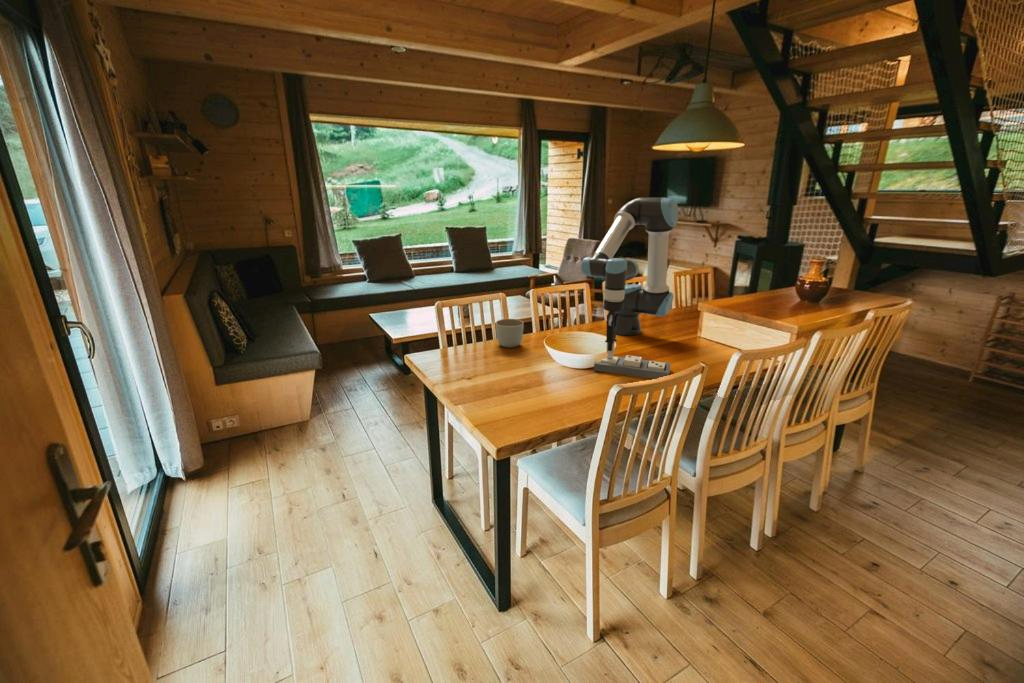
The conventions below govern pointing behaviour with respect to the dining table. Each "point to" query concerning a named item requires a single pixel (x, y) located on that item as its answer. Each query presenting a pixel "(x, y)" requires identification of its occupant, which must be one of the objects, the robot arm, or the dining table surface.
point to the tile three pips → (656, 365)
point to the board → (632, 369)
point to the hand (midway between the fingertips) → (609, 357)
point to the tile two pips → (632, 361)
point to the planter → (509, 332)
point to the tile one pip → (610, 360)
